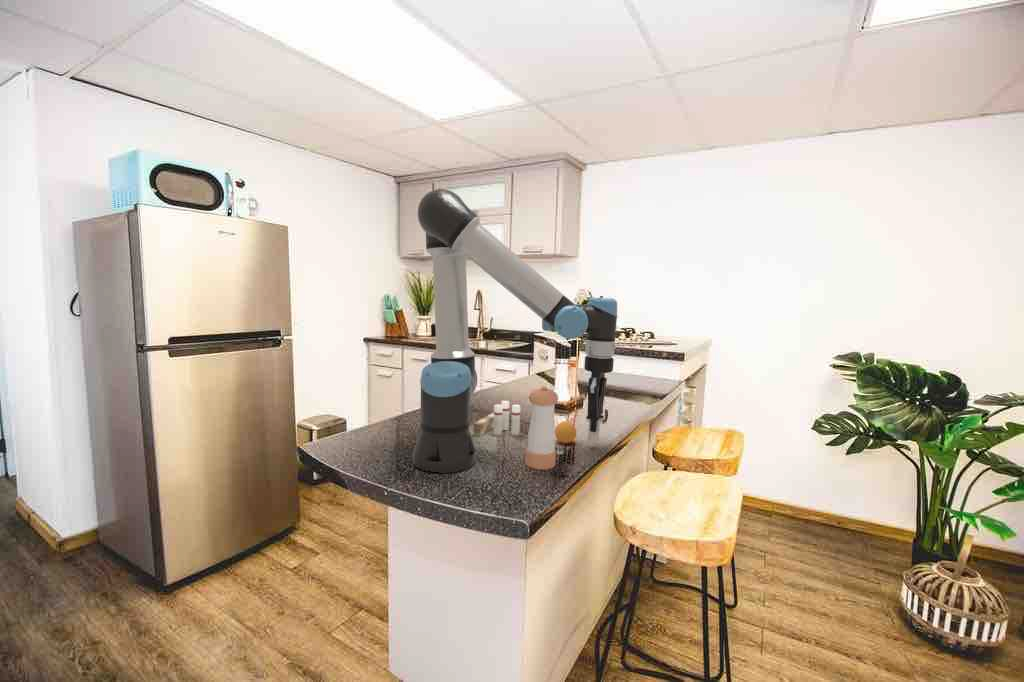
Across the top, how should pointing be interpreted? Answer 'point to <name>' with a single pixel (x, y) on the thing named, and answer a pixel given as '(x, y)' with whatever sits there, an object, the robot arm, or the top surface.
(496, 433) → the pin
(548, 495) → the top surface
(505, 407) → the pin
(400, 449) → the top surface
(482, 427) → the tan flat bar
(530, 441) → the salt shaker
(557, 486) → the top surface
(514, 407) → the front pin
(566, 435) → the ball
